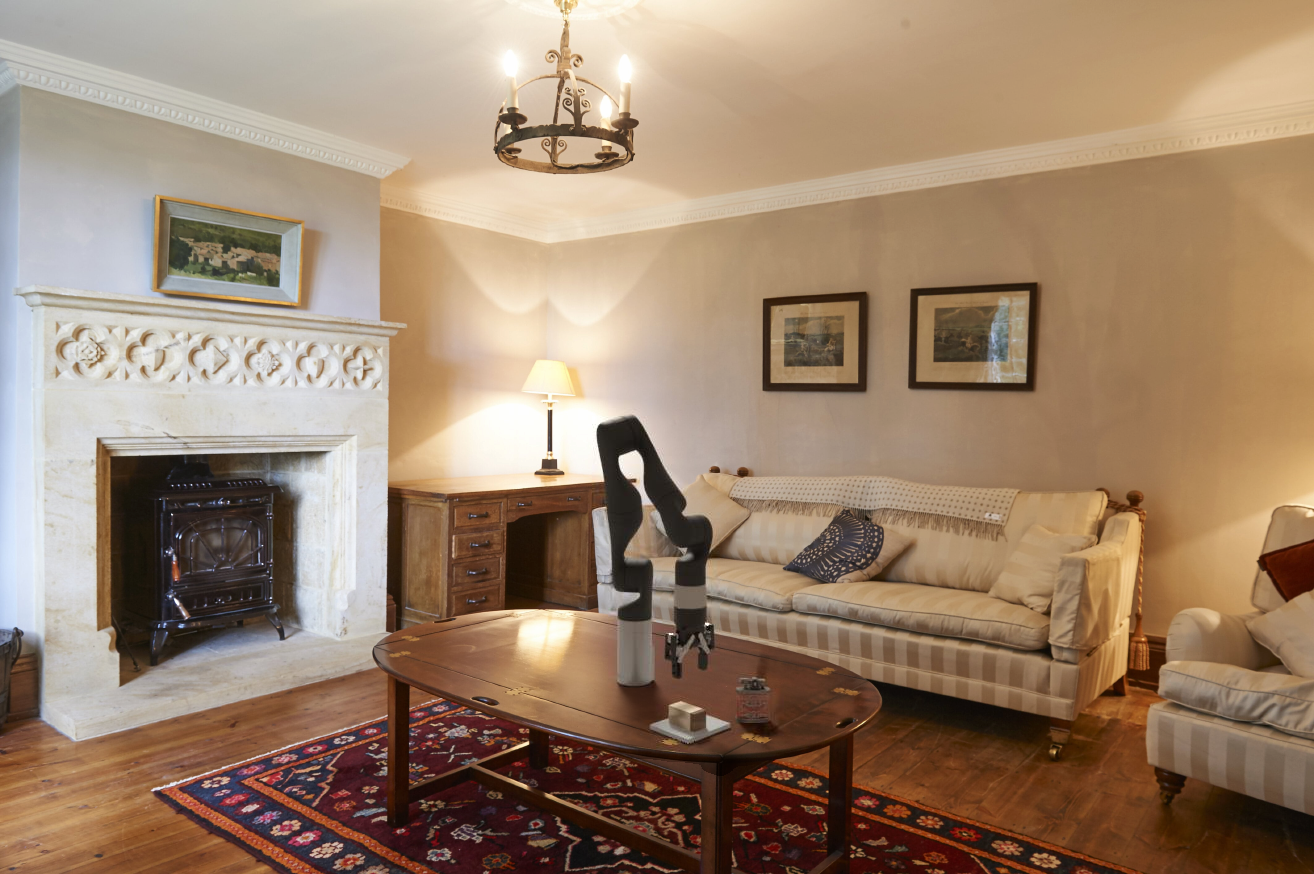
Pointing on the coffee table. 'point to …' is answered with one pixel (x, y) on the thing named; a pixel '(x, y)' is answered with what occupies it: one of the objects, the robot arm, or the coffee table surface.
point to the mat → (688, 736)
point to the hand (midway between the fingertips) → (690, 673)
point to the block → (687, 716)
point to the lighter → (752, 701)
